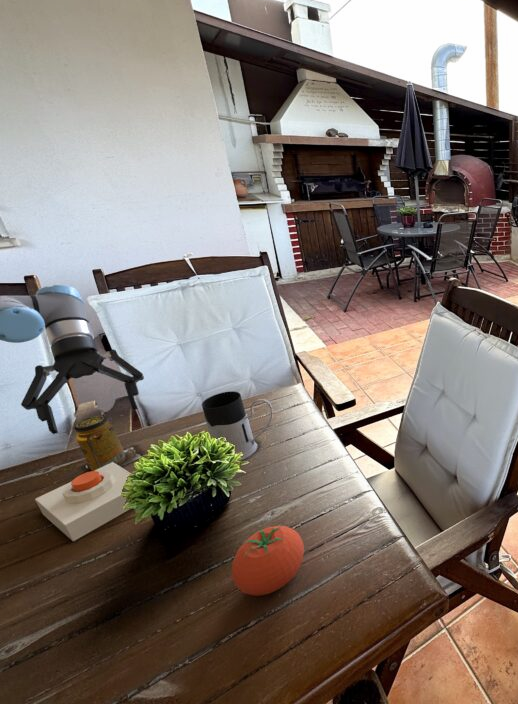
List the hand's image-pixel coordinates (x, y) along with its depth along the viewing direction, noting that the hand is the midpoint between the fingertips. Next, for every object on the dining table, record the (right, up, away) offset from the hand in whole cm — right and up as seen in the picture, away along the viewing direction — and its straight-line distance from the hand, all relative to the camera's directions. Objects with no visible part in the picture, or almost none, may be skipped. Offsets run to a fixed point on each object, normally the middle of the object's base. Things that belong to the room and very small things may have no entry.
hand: (96, 419), depth 93 cm
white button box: (+12, -15, -11) cm, 23 cm away
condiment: (+3, -11, +1) cm, 11 cm away
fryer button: (+12, -10, -13) cm, 21 cm away
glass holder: (+33, -9, +5) cm, 34 cm away
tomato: (+58, -21, -26) cm, 67 cm away
